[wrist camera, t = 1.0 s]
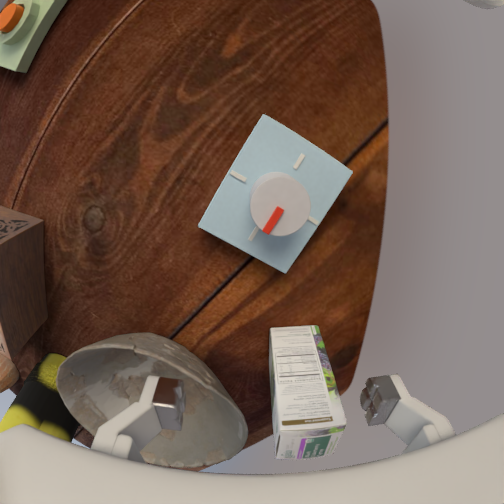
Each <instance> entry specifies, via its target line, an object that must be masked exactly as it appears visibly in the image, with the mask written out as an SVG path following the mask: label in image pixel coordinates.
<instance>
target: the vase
mask: <svg viewBox="0 0 504 504" xmlns="http://www.w3.org/2000/svg"><path fill="white" fill-rule="evenodd" d="M18 379H19V372H18V370H17V368H16V366H15V365H14V363H13V362H12V361H11V360H10V359H8V358H6V357H5V356H3V355H2V354H0V393H1V392H3V391H5V390H7V389H9V388H10V387H11V386H13V385H14V384H15V382H16V381H17V380H18Z"/></svg>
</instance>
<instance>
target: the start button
mask: <svg viewBox="0 0 504 504" xmlns="http://www.w3.org/2000/svg"><path fill="white" fill-rule="evenodd" d="M23 12H24V8H23V7H22V6H20V5H17V4H15V3H12V4H10V5H8V6H7V7H6V8H5V9H4V10H3V11H2V12H1V14H0V31H2V32H6V33H8V32H10V31H12V30H13V29H14V27H15V26H16V25H17V24H18V22H19V21H20V19H21V17H22V16H23Z"/></svg>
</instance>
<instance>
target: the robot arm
mask: <svg viewBox="0 0 504 504" xmlns="http://www.w3.org/2000/svg"><path fill="white" fill-rule="evenodd" d="M365 384H366V386H367V387H366V388H364V389H363V390H362V393H361V396H360V402H361V406H362V409H364V410H365V411H366V414H365V418H366V420H367V423H368V426H373V425H379V424H385V425H386V426H387V427H388V428H389V429H390V430H391V431H392V432H393V433H394V434H396V435H397V436H398V437H399V438H400V439H401V440H402V441H403V442H405V443H406V444H407V445H408V446H407V448H406V449H405V450H404V451H403V453H402V454H401V455H397V456H393V457H389V458H385V459H382V460H377V461H373V462H368V463H363V464H358V465H353V466H348V467H341V468H334V469H328V470H319V471H310V472H299V473H285V474H223V473H209V472H198V471H189V470H181V469H174V468H167V467H161V466H156V465H150V464H146V462H145V461H144V459H143V457H142V455H141V454H140V451H141V450H142V449H143V448H144V447H145V446H146V445H147V444H148V443H149V442H150V441H151V440H152V439H153V438H154V437H155V436H156V435H157V434H158V433H159V432H160V431H161V430H162V429H169V430H178V431H181V429H182V423H183V415H182V413H183V412H184V411H185V407H186V393H185V391H184V390H183V389H184V382H183V380H180V379H173V378H166V377H158V376H152V375H149V376H148V377H147V380H146V382H145V385H144V388H143V391H142V394H141V397H140V400H139V402H135V403H133V404H132V405H130V406H129V407H128V408H126V409H125V410H123V411H122V412H120V413H119V414H118V415H116V416H115V417H113V418H112V419H110V420H109V421H107V422H106V423H105V424H103V425H102V426H100V427H99V428H98V430H97V433H96V435H95V438H94V441H93V443H92V446H91V448H90V449H88V448H85V447H82V446H79V445H76V444H73V443H71V442H68V441H65V440H63V439H60V438H58V437H55V436H53V435H50V434H48V433H46V432H43V431H41V430H39V429H37V428H34V427H32V426H30V425H27V424H20V425H17V426H14V427H12V428H10V429H8V430H5V431H3V432H1V433H0V504H504V413H503V414H500V415H498V416H496V417H494V418H492V419H490V420H488V421H486V422H485V423H482V424H480V425H478V426H476V427H474V428H472V429H469V430H467V431H465V432H463V433H461V434H458V435H456V434H455V432H454V430H453V428H452V426H451V424H450V422H449V421H448V419H447V418H446V417H445V416H443V415H441V414H440V413H438V412H437V411H435V410H433V409H432V408H430V407H429V406H427V405H425V404H424V403H422V402H421V401H419V400H417V399H416V398H414V397H410V395H409V393H408V391H407V389H406V387H405V385H404V384H403V382H402V380H401V378H400V376H399V375H398V374H395V375H388V376H380V377H373V378H369V379H367V381H366V383H365Z"/></svg>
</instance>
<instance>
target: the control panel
mask: <svg viewBox="0 0 504 504" xmlns="http://www.w3.org/2000/svg"><path fill="white" fill-rule="evenodd" d="M270 172H282V173H286V174H288V175H290V176H291V177H293V178H294V179H295V180H297V181H298V182H299V183H300V184H302V185H303V186H304V188H305V189H306V191H307V192H308V194H309V197H310V201H311V210H310V215H309V217H308V219H307V221H306V223H305V224H304V225H303V226H302V227H301V228H300V229H299V230H298V231H296V232H294V233H292V234H290V235H286V236H274V235H270V234H269V235H268V234H266V233H264V232H263V231H262V230H261V229H260V228H259V227H258V226H257V225H256V224H255V222H254V221H253V219H252V216H251V212H250V191H251V188H252V186H253V184H254V183H255V181H256V180H257V179H258V178H260V177H261V176H263V175H264V174H267V173H270ZM352 173H353V172H352V171H351V170H350V169H348V168H347V167H346V166H344V165H343V164H341V163H340V162H339V161H337V160H336V159H334V158H333V157H331V156H330V155H329V154H327V153H326V152H324V151H323V150H321V149H320V148H318V147H317V146H315V145H314V144H312V143H311V142H309V141H308V140H306V139H304V138H303V137H301V136H300V135H298V134H297V133H295V132H293V131H292V130H290V129H288V128H287V127H285V126H284V125H282V124H280V123H279V122H277V121H275V120H273V119H272V118H270V117H268V116H267V115H265V114H263V115H262V117H261V118H260V120H259V121H258V123H257V125H256V126H255V128H254V130H253V131H252V133H251V134H250V136H249V138H248V139H247V141H246V143H245V144H244V146H243V147H242V149H241V151H240V152H239V154H238V156H237V158H236V159H235V161H234V163H233V164H232V166H231V168H230V169H229V171H228V173H227V175H226V176H225V178H224V180H223V181H222V183H221V185H220V187H219V188H218V190H217V192H216V194H215V196H214V197H213V199H212V201H211V203H210V205H209V206H208V208H207V210H206V212H205V214H204V215H203V217H202V219H201V221H200V223H199V225H198V227H200V228H202V229H204V230H205V231H207V232H209V233H211V234H213V235H215V236H216V237H218V238H220V239H222V240H224V241H226V242H228V243H229V244H231V245H233V246H235V247H237V248H239V249H241V250H242V251H244V252H246V253H248V254H250V255H252V256H254V257H255V258H257V259H259V260H261V261H263V262H265V263H267V264H268V265H270V266H272V267H274V268H276V269H278V270H280V271H281V272H283V273H286V272H287V271H288V270H289V268H290V267H291V265H292V264H293V262H294V261H295V259H296V258H297V256H298V255H299V254H300V252H301V251H302V249H303V248H304V246H305V245H306V243H307V242H308V240H309V239H310V237H311V236H312V234H313V233H314V231H315V230H316V228H317V227H318V225H319V224H320V222H321V221H322V219H323V218H324V216H325V215H326V213H327V212H328V210H329V209H330V207H331V206H332V204H333V203H334V201H335V200H336V198H337V197H338V195H339V193H340V192H341V190H342V189H343V187H344V186H345V184H346V183H347V181H348V179H349V178H350V176H351V175H352Z"/></svg>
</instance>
